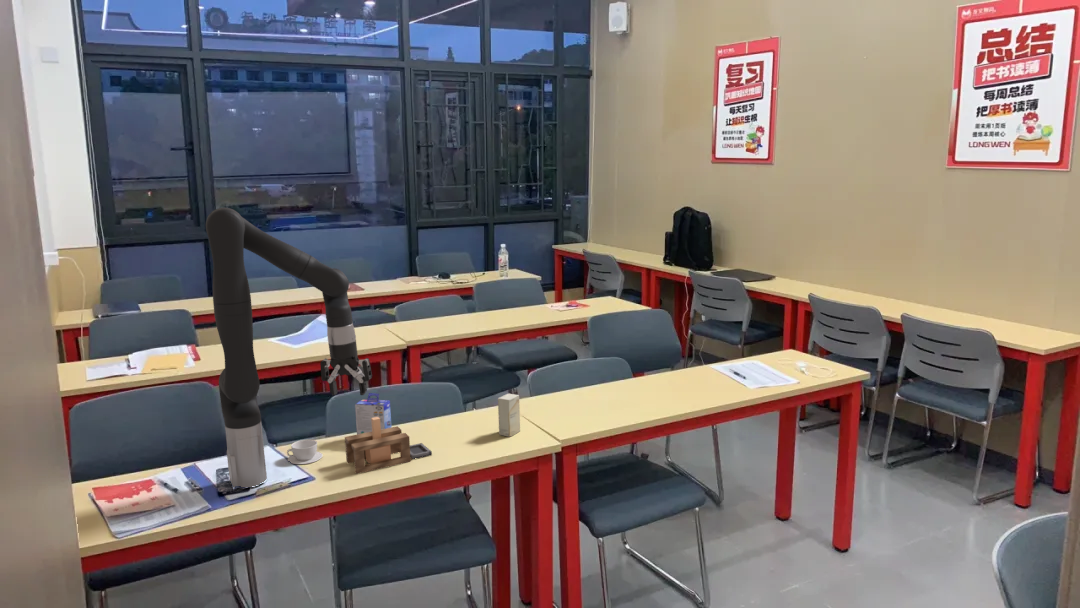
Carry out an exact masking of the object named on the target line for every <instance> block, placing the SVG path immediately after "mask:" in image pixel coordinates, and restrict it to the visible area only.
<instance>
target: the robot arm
mask: <svg viewBox="0 0 1080 608" xmlns="http://www.w3.org/2000/svg"><path fill="white" fill-rule="evenodd" d="M205 230H206V234H207V237H208V242H209V246H210V251H211V256H212V265H213V270H212V271H213V273H212V274H213V276H212V305H213V313H214V314H213V315H214V319H215V320H214V321H215V325H216V329H217V333H218V337H219V341H220V344H221V347H222V349H223V350H222V351H223V355H224V357H223V358H224V369H223V370H222V371H221V373H220V374H219V377H218V389H219V397H220V399H219V400H220V406H221V413H222V416H223V421H224V422H223V423H224V429H225V439H226V447H227V450H226V460H227V468H228V477H229V482H230V481H231V483H232V485H233V487H235V486H241V487H252V486H256V485H259V484H260V483H262V482H264V481H265V480H266V479H267V480H268V477H267V476H268V475H267V468H266V466H267V465H266V455H265V446H264V445H265V444H264V436H263V426H262V415H261V410H260V408H259V404H258V399H257V395H258V393H259V390H260V377H259V373H258V370H257V369H258V368H257V365H256V359H255V358H256V357H255V352H254V328H253V327H254V325H253V324H254V323H253V308H252V307H253V306H252V296H251V290H250V285H249V280H248V276H247V272H246V271H247V270H246V267H245V260H244V258H245V257H244V249H245V250H247V251H249V252H251V253H253V254H255V255H256V256H259V257H260V258H262V259H264V260H265V261H267V262H268V263H270V264H271V265H272V266H275V267H276V268H278V269H280V270H281V271H283V272H285V273H286V274H289V275H290V276H293V277H294V278H297V279H298V280H301V281H303V282H306V283H307V284H309V285H310V286H312V287H314V288H316V289H317V290H318V291H320V292H321V294H322V298H323V302H324V307H325V319H326V333H327V335H326V336H327V341H328V349H329V357H330V359H328V358H324V359H322V360H320V364H319V365H320V375H321V377H320V378H321V379H320V380H321V381H323V382H327V383H328V386H329V393H330V394H331V395H332V396H336V395H337V394H338V386H337V385H338V384H337V380H336V379H337V377H338V376H344V375H346V376H351V375H352V377H353V378H355V379H356V380H357V381H358V382H359V383H358V388H359V393H360V394H359V395H360V396H364V395H365V394H366V393H367V391H368V386H367V382H369V381H370V380H371V379H372V378H373V374H372V368H371V362H370V359H369V358H368V357H367V358H365V359H360V358H359V357H358V345H357V336H356V331H355V327H354V322H353V315H352V308H351V305H350V303H349V295H348V291H349V288H350V282H349V279H348V277H347V276H346V274H345V273H344V272H343V271H342V270H340V269H339V268H335V267H334V268H332V267H329V266H328V265H326V264H324V263H322V262H320V260H318V259H317V258H315V257H314V256H312V255H311V254H308V253H306V252H305V251H303V250H301V249H299V248H297V247H295V246H293V245H291V244H289V243H287V242H284V241H282V240H281V239H278V238H276V237H274V236H272V235H270V234H268V233H266V232H265V231H263V230H261V229H260V228H258V227H257V226H255V225H253V224H252V223H251V222H250V221H248V220H247V219H246V218H245V217H243V216H241V214H240V213H239V212H238V211H236V210H235V209H232V208H230V207H219V208H216V209H214V210H213V211H211V212H210V213H209V215H208V216H207V217H206V221H205ZM359 365H360V367H361V368H362V369H363V371H362V369H361V368H360V367H359ZM329 367H331V368H333V370H332V372H331V374H330V369H329ZM231 483H230V484H231Z"/></svg>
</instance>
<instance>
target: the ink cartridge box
mask: <svg viewBox="0 0 1080 608" xmlns="http://www.w3.org/2000/svg"><path fill="white" fill-rule="evenodd" d="M373 396H375V398H374V397H373ZM379 398H380V393H375V392H374V393H371V392H370V393H368V396H367V398H366V399H361V400H359V401H358V402H357V403H355V404H354V410H355V423H356V424H355V426H356V435H357V434H362V433H367V432H372V422H371V418H374V417H379V418H380V424H381V430H382V429H387V428H392V417H391V416H392V415H391V411H392V410H391V400H387V399H385V400H384V399H379Z"/></svg>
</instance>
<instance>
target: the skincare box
mask: <svg viewBox="0 0 1080 608" xmlns="http://www.w3.org/2000/svg"><path fill="white" fill-rule="evenodd" d="M497 407H498V408H497V409H498V412H497V413H498V415H497V416H498V434H499V436H505V437H512V436H514V435H516V434H518V433H520V432H521V411H520V395H519V394H514V393H506V394H504V395H502V396H499V397H497Z"/></svg>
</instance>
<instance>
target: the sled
mask: <svg viewBox="0 0 1080 608" xmlns="http://www.w3.org/2000/svg"><path fill="white" fill-rule="evenodd" d="M371 422H372V436H373V440H374V439H378V438H381V424H380V418H379V417H374V418H371ZM365 455H366V460H365V462H367V464H370V463H375V462H379V461H384V460H388V459H392V454H391V449H390V445H386V446H381V447H376V448H372V449H367V450H365Z"/></svg>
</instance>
